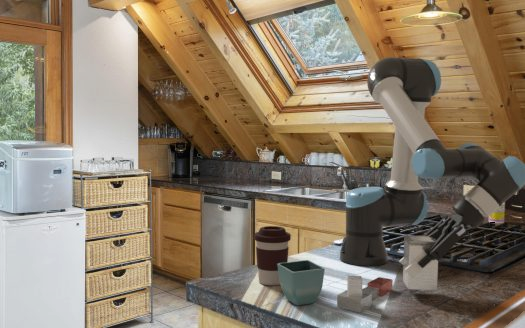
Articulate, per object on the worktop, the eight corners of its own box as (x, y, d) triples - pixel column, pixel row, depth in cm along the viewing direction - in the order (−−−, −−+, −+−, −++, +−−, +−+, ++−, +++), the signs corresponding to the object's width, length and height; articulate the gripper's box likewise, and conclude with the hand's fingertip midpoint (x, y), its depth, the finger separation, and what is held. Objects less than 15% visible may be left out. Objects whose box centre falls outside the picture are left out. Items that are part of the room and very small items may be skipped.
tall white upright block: (407, 289, 128) (409, 241, 127) (402, 280, 135) (404, 235, 134) (436, 290, 128) (438, 242, 127) (430, 281, 135) (432, 236, 134)
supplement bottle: (487, 221, 243) (488, 193, 242) (502, 221, 241) (503, 194, 240) (489, 223, 237) (490, 195, 236) (505, 224, 235) (506, 196, 234)
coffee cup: (248, 285, 139) (248, 230, 138) (261, 275, 148) (261, 223, 147) (283, 289, 136) (284, 232, 135) (294, 279, 145) (295, 226, 144)
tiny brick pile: (337, 307, 122) (337, 278, 122) (375, 286, 139) (375, 260, 138) (360, 312, 118) (360, 282, 118) (396, 290, 135) (396, 264, 135)
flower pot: (292, 310, 120) (292, 272, 119) (276, 298, 128) (276, 262, 127) (325, 305, 124) (325, 268, 123) (307, 294, 132) (308, 259, 131)
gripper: (499, 226, 119) (424, 292, 121) (472, 211, 139) (408, 268, 141) (477, 203, 119) (402, 269, 121) (452, 191, 139) (389, 249, 141)
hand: (405, 269), depth 131 cm, fingers closed on tall white upright block, 7 cm apart
